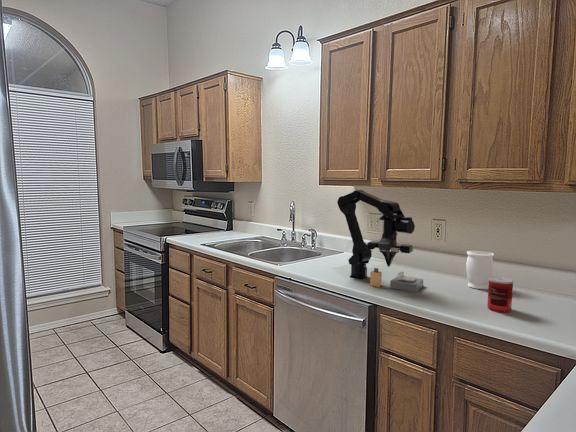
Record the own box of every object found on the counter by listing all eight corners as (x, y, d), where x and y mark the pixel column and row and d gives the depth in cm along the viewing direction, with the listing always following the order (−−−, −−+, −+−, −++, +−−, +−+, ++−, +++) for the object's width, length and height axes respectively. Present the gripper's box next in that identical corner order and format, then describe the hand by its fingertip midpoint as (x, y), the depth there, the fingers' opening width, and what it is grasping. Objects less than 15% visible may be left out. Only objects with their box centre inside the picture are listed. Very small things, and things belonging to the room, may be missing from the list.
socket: (390, 288, 171) (390, 281, 171) (397, 282, 180) (398, 275, 180) (416, 292, 165) (416, 284, 165) (423, 285, 174) (423, 279, 174)
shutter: (397, 279, 172) (397, 273, 171) (401, 277, 176) (401, 271, 176) (413, 281, 168) (413, 275, 168) (416, 279, 173) (416, 273, 173)
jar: (459, 284, 176) (461, 251, 175) (477, 282, 180) (479, 249, 179) (479, 291, 167) (480, 255, 165) (497, 289, 170) (499, 254, 169)
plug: (370, 285, 174) (370, 268, 174) (372, 284, 177) (373, 267, 176) (379, 287, 172) (379, 269, 172) (381, 285, 175) (381, 268, 174)
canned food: (503, 305, 149) (505, 276, 147) (516, 313, 141) (518, 282, 139) (482, 305, 148) (484, 276, 147) (494, 313, 140) (496, 282, 139)
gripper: (362, 231, 173) (361, 267, 174) (406, 235, 163) (404, 273, 164) (371, 228, 182) (370, 262, 184) (413, 232, 172) (412, 267, 174)
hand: (388, 266), depth 176 cm, fingers closed
